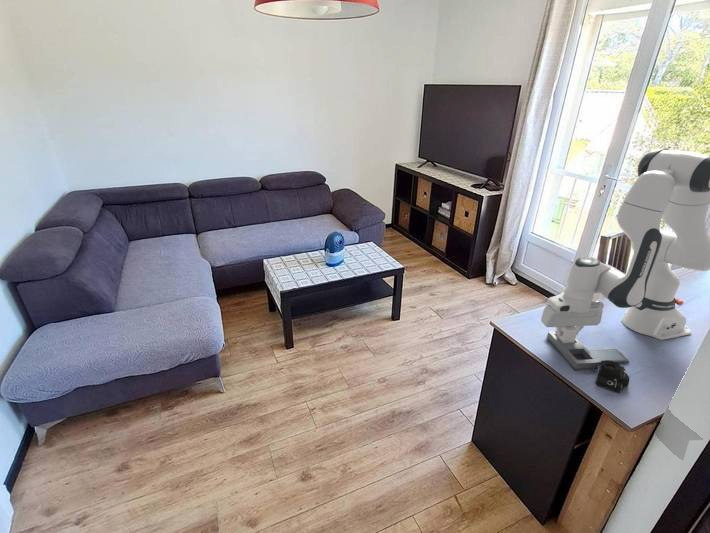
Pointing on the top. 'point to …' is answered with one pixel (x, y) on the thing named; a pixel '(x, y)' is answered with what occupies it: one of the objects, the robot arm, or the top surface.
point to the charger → (568, 334)
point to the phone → (609, 355)
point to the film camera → (612, 376)
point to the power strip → (574, 353)
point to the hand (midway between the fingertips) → (566, 334)
